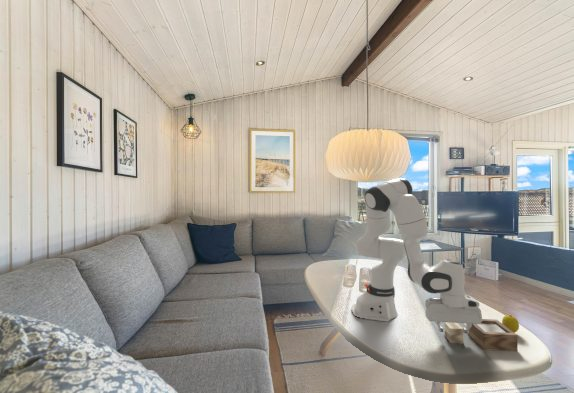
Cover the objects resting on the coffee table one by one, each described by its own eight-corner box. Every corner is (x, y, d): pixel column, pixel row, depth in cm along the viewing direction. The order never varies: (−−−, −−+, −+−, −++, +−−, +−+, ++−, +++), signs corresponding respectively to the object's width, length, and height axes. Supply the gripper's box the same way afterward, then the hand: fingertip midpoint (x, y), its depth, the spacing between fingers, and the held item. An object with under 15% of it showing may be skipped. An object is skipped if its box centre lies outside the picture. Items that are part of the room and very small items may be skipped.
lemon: (501, 333, 112) (501, 315, 112) (503, 328, 116) (502, 310, 116) (518, 338, 108) (518, 319, 108) (519, 332, 112) (519, 314, 112)
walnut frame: (483, 349, 101) (483, 333, 101) (466, 332, 113) (466, 318, 113) (517, 350, 100) (517, 335, 100) (496, 333, 112) (496, 319, 112)
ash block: (450, 342, 106) (450, 328, 106) (444, 336, 111) (444, 322, 111) (463, 343, 106) (463, 329, 106) (457, 336, 111) (457, 322, 110)
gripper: (427, 300, 106) (428, 334, 106) (483, 303, 102) (484, 338, 102) (422, 294, 112) (423, 326, 112) (475, 297, 108) (476, 329, 108)
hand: (453, 332), depth 107 cm, fingers open, 8 cm apart
